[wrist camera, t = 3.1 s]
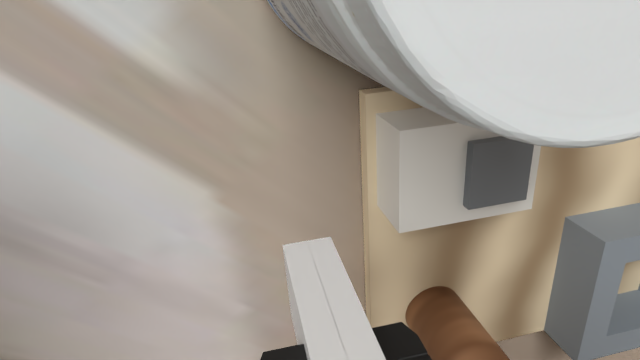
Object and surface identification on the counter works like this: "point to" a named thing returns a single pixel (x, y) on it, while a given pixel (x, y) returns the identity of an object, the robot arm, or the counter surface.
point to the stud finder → (448, 171)
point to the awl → (450, 327)
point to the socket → (596, 284)
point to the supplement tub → (493, 60)
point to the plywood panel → (489, 235)
